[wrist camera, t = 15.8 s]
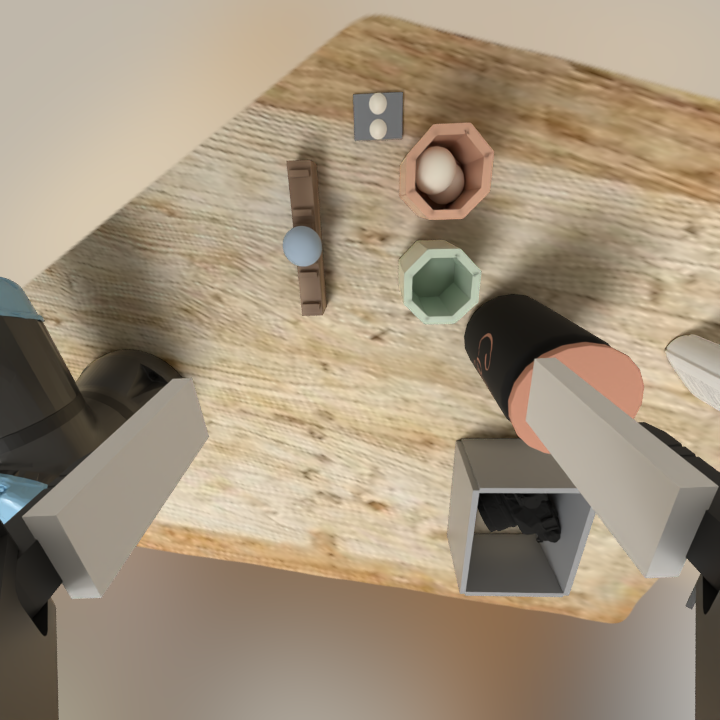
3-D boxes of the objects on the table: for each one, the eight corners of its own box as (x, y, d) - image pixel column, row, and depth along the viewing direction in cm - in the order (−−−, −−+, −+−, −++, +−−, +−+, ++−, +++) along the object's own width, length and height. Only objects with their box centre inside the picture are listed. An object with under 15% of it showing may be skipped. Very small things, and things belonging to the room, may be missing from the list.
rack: (308, 306, 45) (301, 317, 41) (294, 164, 39) (285, 160, 35) (326, 306, 45) (321, 316, 41) (316, 164, 39) (309, 159, 34)
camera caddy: (446, 536, 61) (459, 595, 52) (456, 438, 53) (473, 487, 44) (538, 537, 60) (568, 597, 51) (563, 438, 52) (603, 488, 43)
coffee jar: (453, 307, 45) (499, 368, 28) (539, 279, 43) (642, 327, 26) (471, 379, 49) (521, 468, 32) (551, 356, 47) (647, 438, 30)
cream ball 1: (421, 202, 36) (403, 188, 33) (425, 161, 36) (407, 143, 32) (459, 197, 34) (444, 182, 31) (464, 153, 33) (449, 133, 30)
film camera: (454, 461, 55) (469, 507, 46) (515, 436, 52) (541, 479, 44) (493, 523, 60) (511, 575, 51) (549, 503, 57) (578, 553, 49)
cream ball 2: (416, 200, 39) (434, 210, 36) (420, 159, 36) (440, 165, 33) (447, 197, 40) (468, 206, 37) (453, 157, 38) (476, 163, 35)
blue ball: (289, 263, 39) (281, 270, 36) (285, 225, 38) (276, 227, 34) (325, 262, 39) (320, 268, 35) (323, 224, 37) (317, 226, 34)
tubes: (360, 303, 45) (356, 325, 37) (353, 95, 36) (347, 63, 28) (457, 301, 44) (476, 323, 36) (474, 89, 35) (504, 55, 27)
